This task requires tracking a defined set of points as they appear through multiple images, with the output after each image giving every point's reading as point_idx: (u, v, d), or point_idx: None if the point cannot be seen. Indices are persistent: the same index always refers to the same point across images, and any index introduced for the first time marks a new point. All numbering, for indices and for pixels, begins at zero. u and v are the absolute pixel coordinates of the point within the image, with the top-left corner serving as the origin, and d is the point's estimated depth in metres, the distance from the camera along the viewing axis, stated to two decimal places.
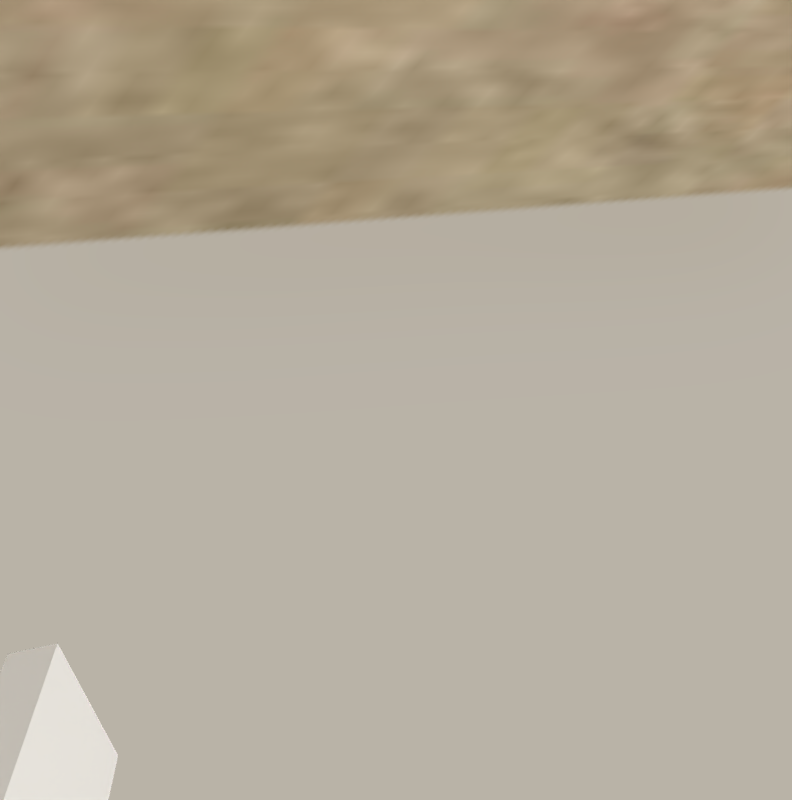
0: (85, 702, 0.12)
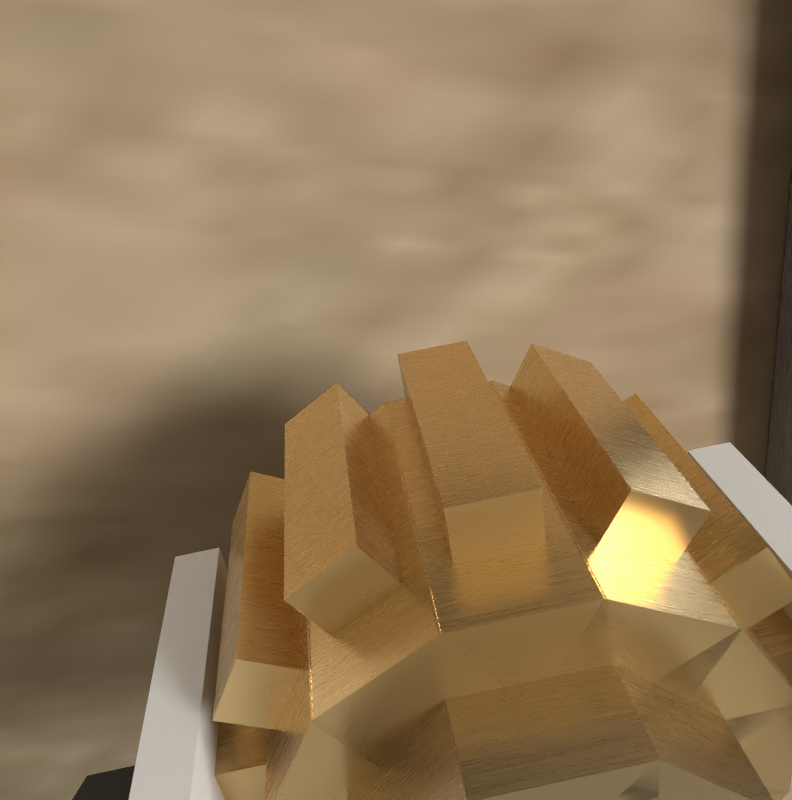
0: None
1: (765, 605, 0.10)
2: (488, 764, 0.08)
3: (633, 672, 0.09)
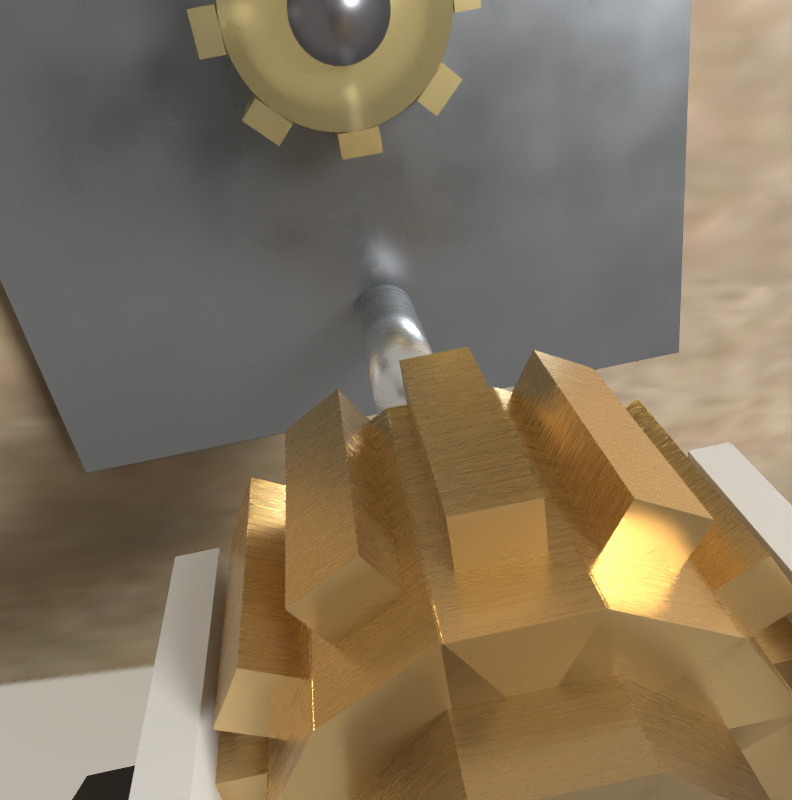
0: None
1: (768, 613, 0.10)
2: (490, 775, 0.08)
3: (636, 682, 0.08)
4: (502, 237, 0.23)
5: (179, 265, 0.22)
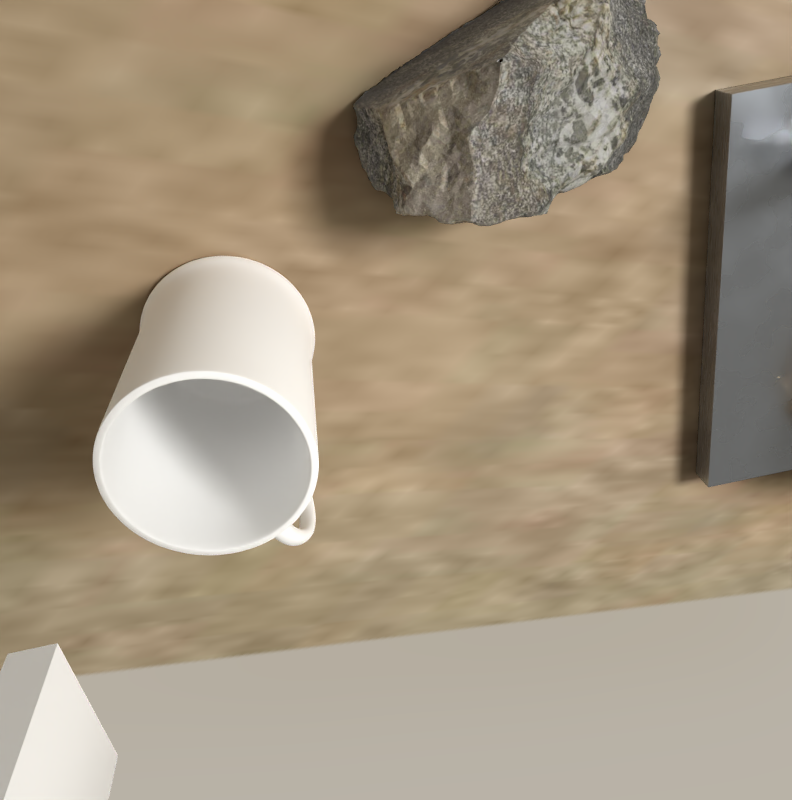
0: (85, 701, 0.12)
1: None
2: None
3: None
4: None
5: None
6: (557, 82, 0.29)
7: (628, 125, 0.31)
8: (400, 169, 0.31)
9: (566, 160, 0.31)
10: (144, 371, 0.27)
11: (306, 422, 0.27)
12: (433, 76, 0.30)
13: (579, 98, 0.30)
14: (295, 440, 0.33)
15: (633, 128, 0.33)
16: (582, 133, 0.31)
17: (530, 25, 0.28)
